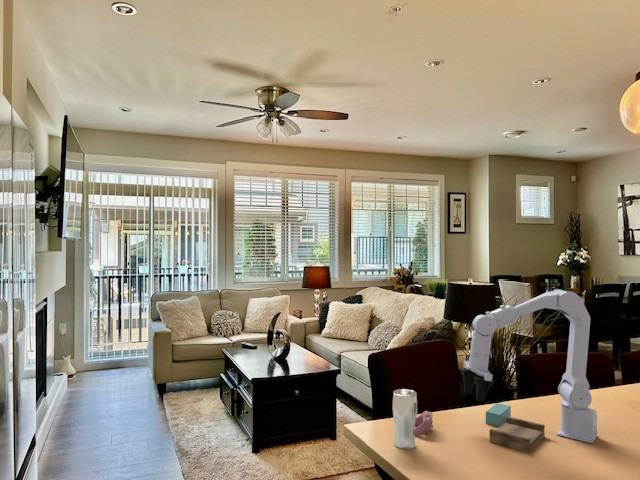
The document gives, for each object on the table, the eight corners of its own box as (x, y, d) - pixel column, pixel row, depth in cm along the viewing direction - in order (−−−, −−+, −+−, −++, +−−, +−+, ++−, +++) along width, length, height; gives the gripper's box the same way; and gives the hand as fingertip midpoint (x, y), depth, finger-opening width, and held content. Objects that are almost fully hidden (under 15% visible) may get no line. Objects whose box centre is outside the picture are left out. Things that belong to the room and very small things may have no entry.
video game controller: (425, 442, 141) (436, 422, 140) (412, 434, 142) (422, 414, 141) (425, 430, 150) (435, 411, 150) (412, 422, 151) (422, 403, 151)
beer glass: (402, 451, 130) (402, 397, 131) (387, 442, 137) (387, 390, 137) (422, 447, 134) (422, 394, 134) (406, 438, 140) (407, 387, 140)
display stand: (544, 436, 142) (544, 425, 142) (528, 452, 131) (528, 440, 131) (507, 427, 149) (507, 416, 149) (489, 441, 138) (489, 429, 138)
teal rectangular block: (510, 417, 158) (510, 406, 158) (499, 427, 150) (499, 414, 150) (497, 414, 161) (497, 403, 161) (485, 424, 153) (485, 411, 153)
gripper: (457, 346, 154) (451, 387, 154) (479, 358, 139) (473, 404, 139) (477, 348, 155) (471, 389, 155) (501, 360, 140) (494, 406, 140)
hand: (473, 396), depth 147 cm, fingers open, 7 cm apart
